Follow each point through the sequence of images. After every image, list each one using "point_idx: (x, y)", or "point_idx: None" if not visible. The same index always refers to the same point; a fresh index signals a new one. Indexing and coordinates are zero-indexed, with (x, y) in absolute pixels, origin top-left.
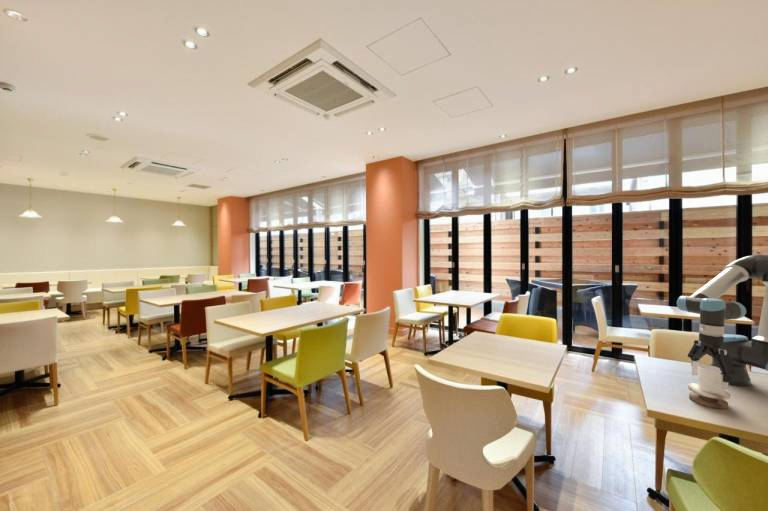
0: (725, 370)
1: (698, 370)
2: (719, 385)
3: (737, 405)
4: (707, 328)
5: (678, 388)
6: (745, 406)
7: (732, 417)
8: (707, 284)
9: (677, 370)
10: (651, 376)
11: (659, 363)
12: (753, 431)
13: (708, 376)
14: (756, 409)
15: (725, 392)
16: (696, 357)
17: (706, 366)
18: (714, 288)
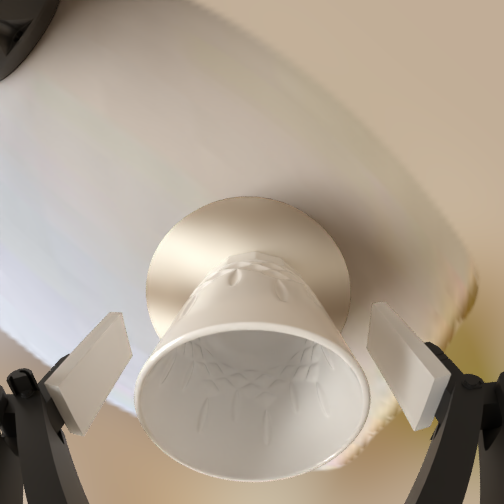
0: (480, 445)
1: (226, 448)
2: (374, 359)
3: (265, 144)
4: None
5: (112, 308)
6: (270, 111)
7: (392, 278)
8: None
9: None
10: (27, 330)
11: None
12: (468, 282)
13: (312, 417)
14: (297, 85)
15: (274, 220)
16: (72, 468)
17: (146, 383)
18: None
